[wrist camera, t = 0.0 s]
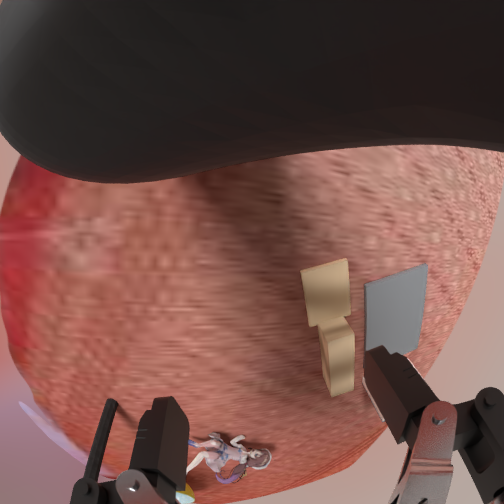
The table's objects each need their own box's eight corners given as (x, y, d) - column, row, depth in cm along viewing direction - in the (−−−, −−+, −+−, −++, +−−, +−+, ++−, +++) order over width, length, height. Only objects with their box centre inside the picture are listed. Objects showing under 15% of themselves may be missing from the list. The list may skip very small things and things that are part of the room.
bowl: (134, 466, 42) (131, 488, 36) (177, 464, 41) (176, 489, 35) (163, 483, 46) (161, 503, 40) (204, 481, 45) (204, 503, 39)
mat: (364, 284, 29) (366, 286, 28) (425, 263, 29) (428, 265, 28) (363, 367, 34) (364, 370, 33) (415, 345, 34) (417, 348, 33)
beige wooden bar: (299, 270, 28) (310, 289, 24) (345, 257, 28) (361, 274, 24) (315, 378, 34) (323, 399, 30) (350, 367, 34) (360, 387, 30)
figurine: (191, 405, 38) (279, 428, 39) (180, 437, 39) (260, 457, 40) (177, 454, 26) (287, 478, 27) (167, 483, 27) (263, 504, 28)
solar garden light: (81, 409, 33) (40, 554, 6) (72, 363, 30) (4, 545, 2) (148, 431, 36) (132, 587, 8) (153, 390, 32) (128, 597, 4)
